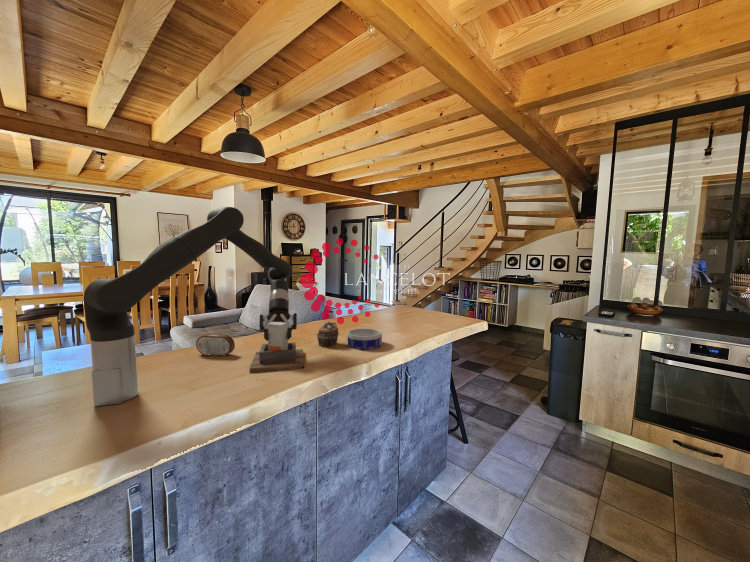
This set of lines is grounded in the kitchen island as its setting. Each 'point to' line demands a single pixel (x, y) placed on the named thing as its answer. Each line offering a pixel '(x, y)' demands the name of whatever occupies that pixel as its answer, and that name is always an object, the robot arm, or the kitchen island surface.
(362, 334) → the dog bowl
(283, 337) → the skincare box
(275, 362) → the bottle holder
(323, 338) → the cupcake
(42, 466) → the kitchen island surface
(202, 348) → the tin
